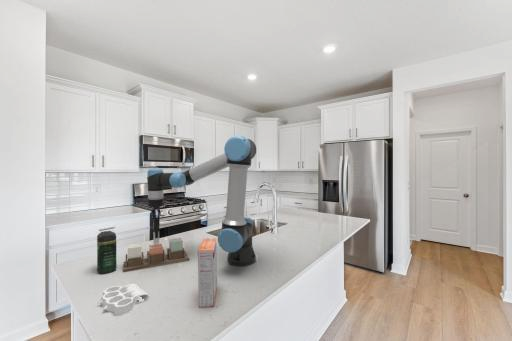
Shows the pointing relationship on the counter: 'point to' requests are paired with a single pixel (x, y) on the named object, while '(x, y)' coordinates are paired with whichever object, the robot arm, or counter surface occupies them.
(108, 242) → the coffee jar
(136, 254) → the cream key
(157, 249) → the terracotta key
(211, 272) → the cracker box
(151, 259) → the board
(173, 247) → the sage key
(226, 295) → the counter surface
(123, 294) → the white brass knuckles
